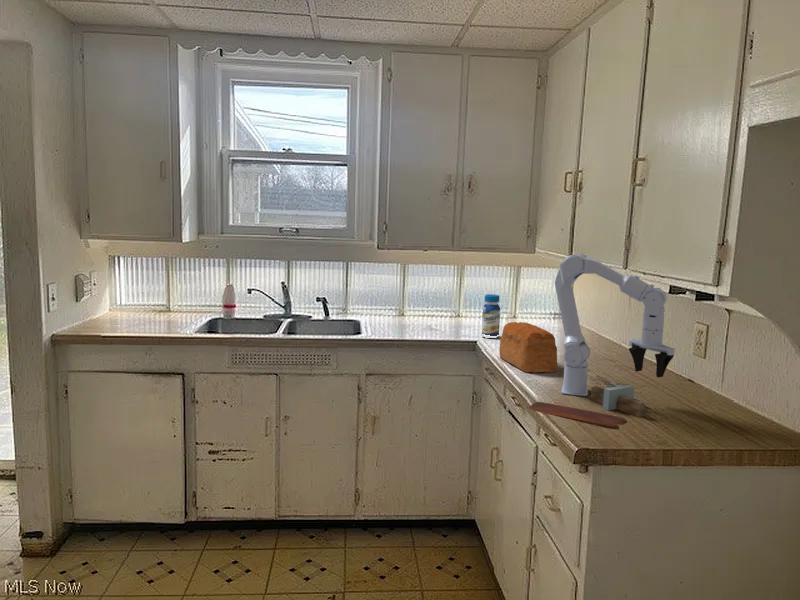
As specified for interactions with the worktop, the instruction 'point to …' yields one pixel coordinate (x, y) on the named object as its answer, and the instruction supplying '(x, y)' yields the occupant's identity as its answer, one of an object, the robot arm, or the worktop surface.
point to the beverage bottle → (491, 315)
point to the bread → (528, 347)
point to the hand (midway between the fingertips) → (648, 373)
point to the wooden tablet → (578, 414)
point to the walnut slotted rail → (620, 402)
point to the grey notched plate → (616, 395)
